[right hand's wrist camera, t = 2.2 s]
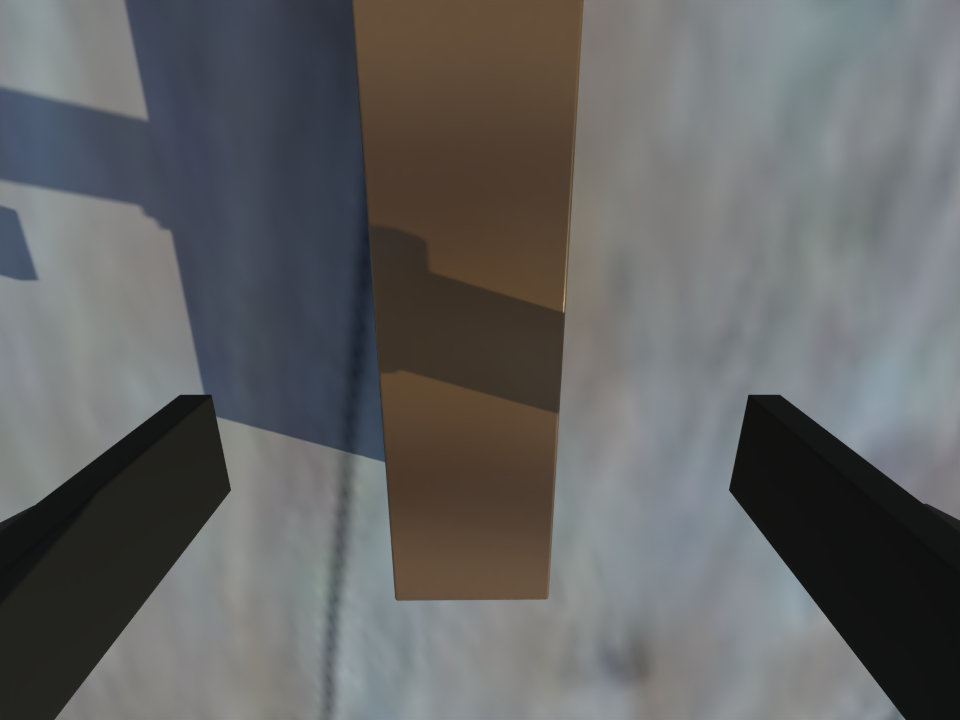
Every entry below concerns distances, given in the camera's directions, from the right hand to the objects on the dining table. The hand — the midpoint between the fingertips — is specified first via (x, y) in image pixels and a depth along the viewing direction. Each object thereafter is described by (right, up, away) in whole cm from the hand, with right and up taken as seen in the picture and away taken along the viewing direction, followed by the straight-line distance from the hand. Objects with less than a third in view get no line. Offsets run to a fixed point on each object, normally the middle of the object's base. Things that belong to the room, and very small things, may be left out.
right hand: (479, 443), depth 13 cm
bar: (0, +25, +1) cm, 25 cm away
